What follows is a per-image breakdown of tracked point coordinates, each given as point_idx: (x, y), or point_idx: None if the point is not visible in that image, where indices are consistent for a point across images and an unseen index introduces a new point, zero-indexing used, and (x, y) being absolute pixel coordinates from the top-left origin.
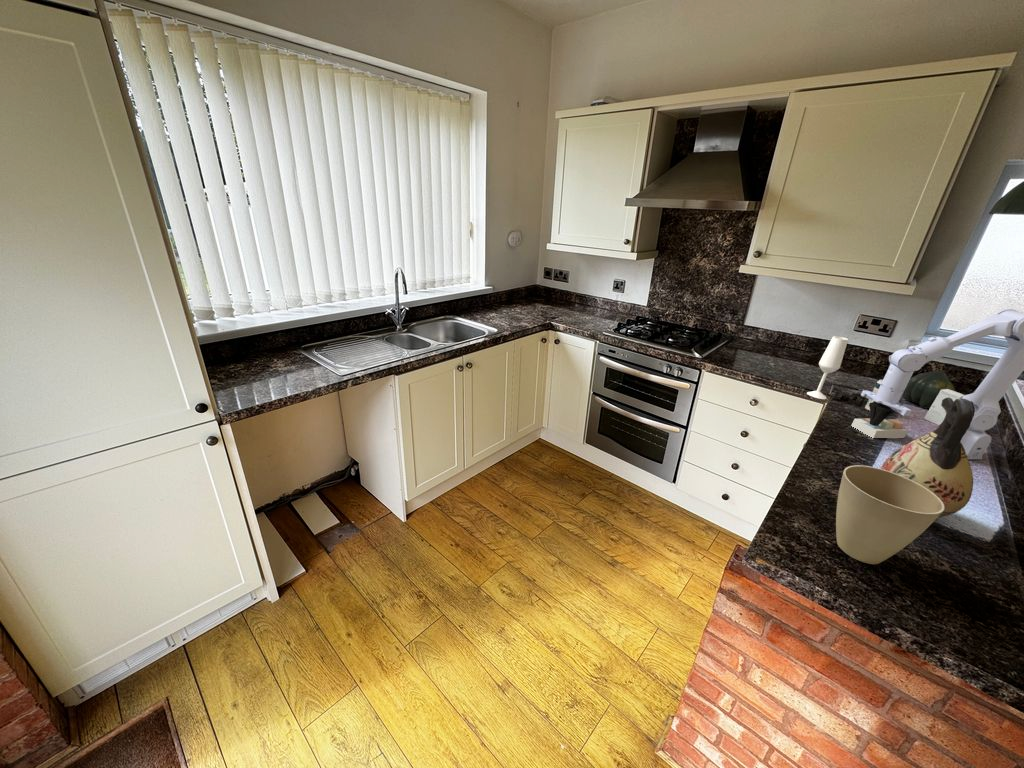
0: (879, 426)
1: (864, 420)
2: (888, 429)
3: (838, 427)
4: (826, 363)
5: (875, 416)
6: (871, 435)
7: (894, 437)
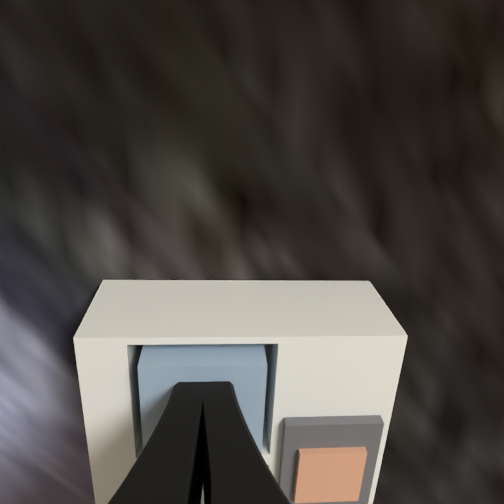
0: None
1: (342, 416)
2: None
3: (374, 84)
4: None
5: (170, 487)
6: (128, 292)
7: None
